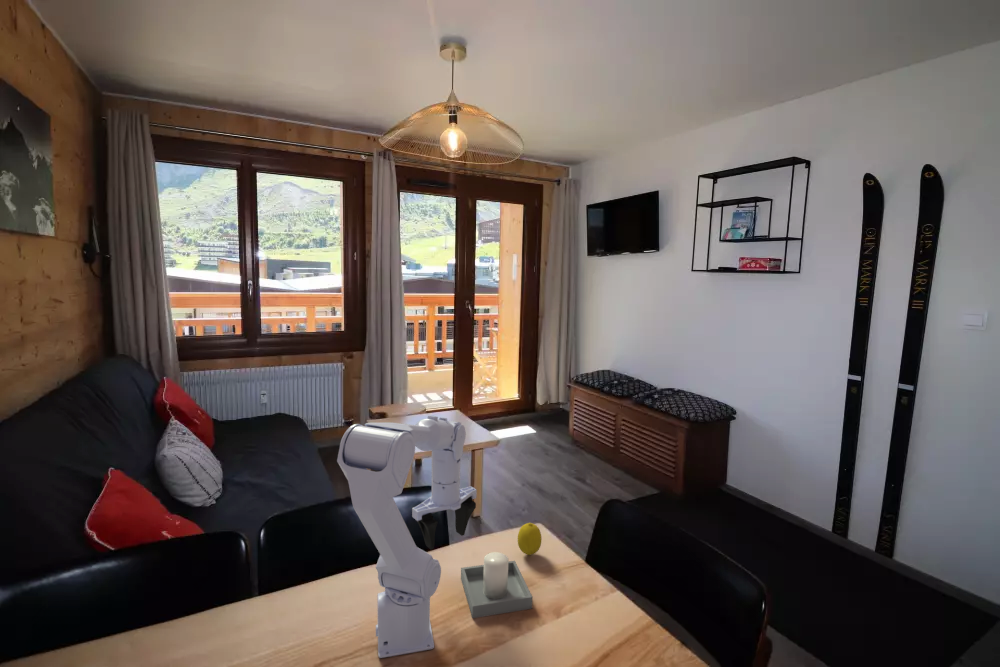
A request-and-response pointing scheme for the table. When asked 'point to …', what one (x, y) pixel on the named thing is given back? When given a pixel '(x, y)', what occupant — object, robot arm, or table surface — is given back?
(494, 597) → the capsule
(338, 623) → the table surface
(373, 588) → the table surface
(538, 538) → the lemon
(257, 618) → the table surface
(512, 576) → the tray
